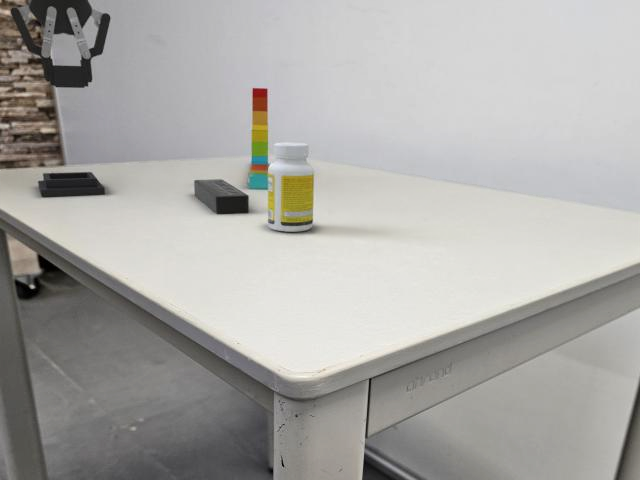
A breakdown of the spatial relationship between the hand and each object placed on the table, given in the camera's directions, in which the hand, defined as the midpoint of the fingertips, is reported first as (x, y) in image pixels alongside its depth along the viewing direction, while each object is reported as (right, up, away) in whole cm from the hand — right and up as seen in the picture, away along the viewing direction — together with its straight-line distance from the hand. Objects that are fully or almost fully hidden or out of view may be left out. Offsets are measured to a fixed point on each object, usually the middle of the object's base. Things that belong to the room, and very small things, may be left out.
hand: (69, 85), depth 95 cm
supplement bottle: (+34, -24, -18) cm, 46 cm away
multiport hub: (+23, -19, -5) cm, 31 cm away
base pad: (0, -16, 0) cm, 16 cm away
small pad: (0, 0, 0) cm, 0 cm away
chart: (+26, -9, +21) cm, 35 cm away
